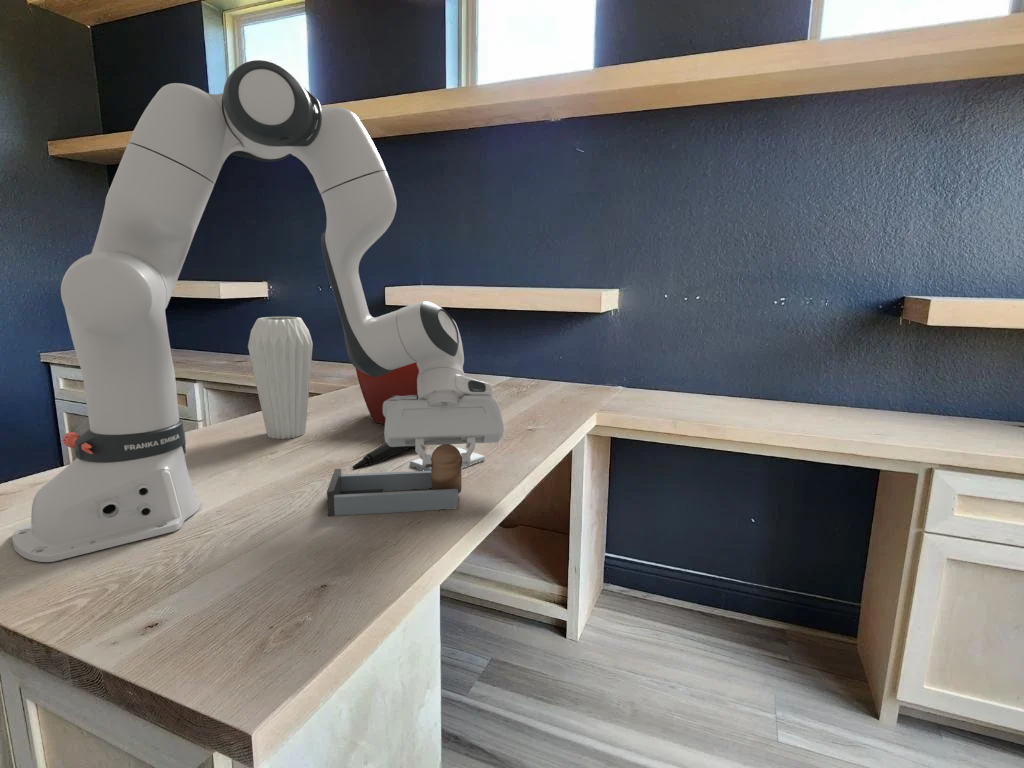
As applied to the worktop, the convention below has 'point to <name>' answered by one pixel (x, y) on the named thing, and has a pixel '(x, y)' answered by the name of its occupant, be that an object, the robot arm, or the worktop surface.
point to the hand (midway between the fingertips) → (446, 465)
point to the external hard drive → (473, 457)
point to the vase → (282, 373)
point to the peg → (446, 468)
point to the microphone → (380, 454)
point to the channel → (385, 493)
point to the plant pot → (387, 388)
